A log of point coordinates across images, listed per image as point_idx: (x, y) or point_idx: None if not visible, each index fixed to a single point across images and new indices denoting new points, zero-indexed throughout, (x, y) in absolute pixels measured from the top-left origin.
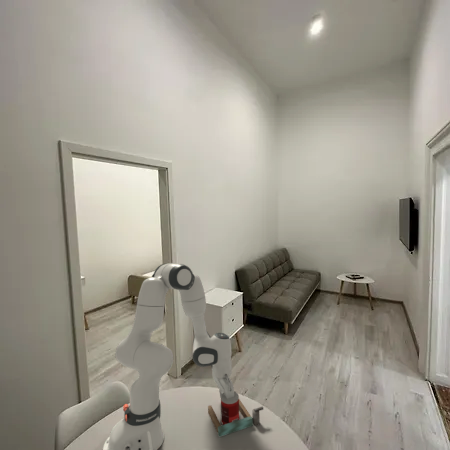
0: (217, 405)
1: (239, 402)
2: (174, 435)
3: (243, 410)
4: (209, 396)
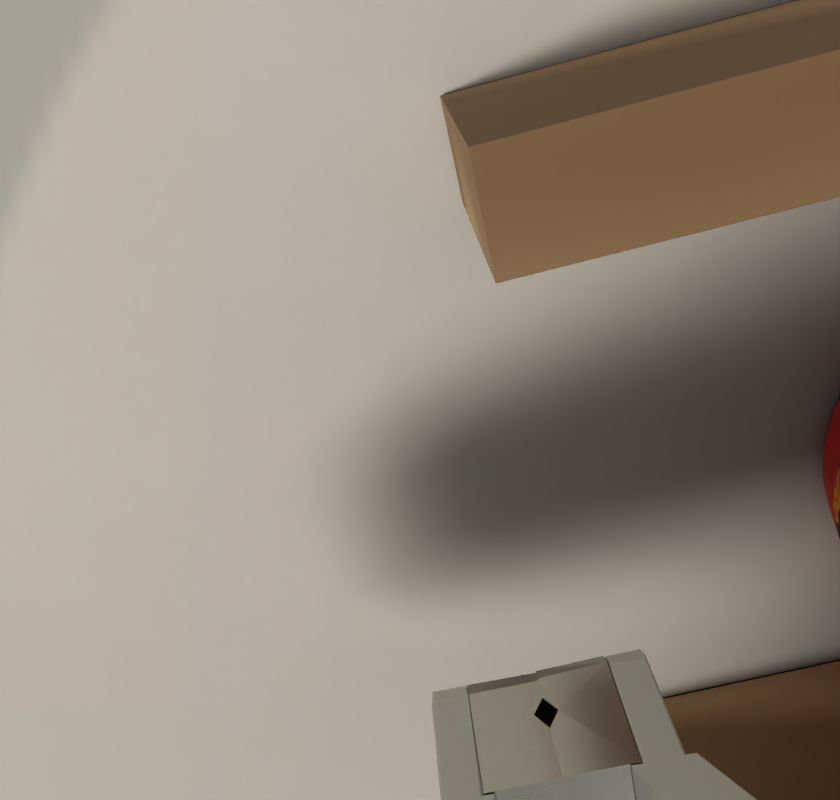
0: (400, 622)
1: (800, 151)
2: None
3: None
4: (73, 746)
